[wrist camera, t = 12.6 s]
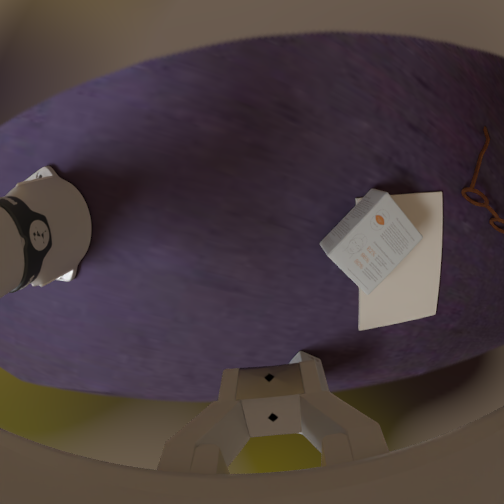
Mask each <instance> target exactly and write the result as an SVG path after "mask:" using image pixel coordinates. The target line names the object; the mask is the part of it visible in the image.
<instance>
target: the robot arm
mask: <svg viewBox="0 0 504 504" xmlns="http://www.w3.org/2000/svg"><path fill="white" fill-rule="evenodd" d="M41 175H42V178H41ZM90 240H91V218H90V213H89V210H88V207H87V204H86V202H85V200H84V198H83V196H82V195H81V193H80V192H79V191H78V190H77V189H76V188H75V187H74V186H73V185H72V184H71V183H69V182H67V181H65V180H63V179H62V178H60V177H59V176H58V175H57V174H56V172H55V171H54V170H53V168H52V167H50V166H45V167H42V168H41V169H40V170H38V171H37V172H35V173H34V174H33V175H31V176H30V177H29V178H27V179H26V180H25V181H24V182H20V183H18V184H16V187H15V188H13V189H12V190H11V191H10V192H9V193H8V194H7V195H6V196H5V197H0V298H1V297H3V296H4V295H6V294H7V293H13V292H16V291H18V290H21V289H23V288H25V287H26V286H28V285H29V284H30V283H31V284H32V286H37V285H39V286H45V285H46V284H48V283H50V282H52V281H54V280H61V281H71V280H73V279H74V278H75V275H76V271H77V266H78V264H79V262H80V261H81V260H82V258H83V257H84V255H85V254H86V252H87V250H88V247H89V244H90ZM301 432H302V434H303V435H304V436H305V437H306V438H307V439H308V440H309V441H310V442H311V443H312V444H313V445H314V446H315V447H316V448H317V449H318V450H319V451H320V452H321V453H322V461H321V462H322V463H321V467H317V468H310V469H302V470H294V471H284V472H272V473H256V474H230V473H229V470H228V468H227V467H228V466H229V465H230V464H231V462H232V461H233V460H234V459H235V457H236V456H237V455H238V453H239V452H240V451H241V450H242V448H243V447H244V446H245V444H246V443H247V441H248V440H249V439H250V437H259V436H269V435H277V434H278V435H279V434H291V433H301ZM0 504H504V406H503V407H501V408H499V409H497V410H495V411H493V412H491V413H490V414H487V415H486V416H483V417H481V418H479V419H477V420H475V421H473V422H471V423H468V424H466V425H464V426H462V427H459V428H457V429H455V430H452V431H450V432H447V433H445V434H442V435H440V436H437V437H434V438H432V439H429V440H426V441H423V442H420V443H418V444H414V445H411V446H408V447H405V448H402V449H398V450H395V451H391V452H389V450H388V447H387V445H386V442H385V439H384V436H383V434H382V431H381V428H380V426H379V424H378V423H377V422H375V421H374V420H372V419H370V418H369V417H367V416H366V415H364V414H362V413H361V412H359V411H358V410H356V409H355V408H353V407H351V406H350V405H348V404H347V403H345V402H344V401H342V400H341V399H339V398H337V397H336V396H335V395H333V394H332V393H330V392H329V391H323V390H322V386H321V382H320V378H319V374H318V370H317V366H316V362H315V360H308V361H302V362H299V363H291V364H283V365H275V366H262V367H248V368H240V369H239V368H234V369H225V370H224V371H223V375H222V380H221V386H220V391H219V397H218V401H214V402H212V403H211V404H210V405H209V406H208V407H207V408H205V409H204V410H203V411H202V412H201V413H200V414H198V415H197V416H196V417H195V418H194V419H193V420H191V422H189V423H188V424H187V425H185V426H184V427H183V428H182V429H181V430H180V431H178V432H177V433H176V434H175V435H173V436H172V437H171V438H170V439H168V440H167V441H166V442H165V445H164V448H163V452H162V455H161V458H160V461H159V464H158V467H157V470H152V469H144V468H138V467H131V466H124V465H120V464H114V463H109V462H104V461H99V460H95V459H91V458H87V457H83V456H79V455H75V454H72V453H68V452H65V451H61V450H58V449H55V448H52V447H48V446H45V445H42V444H39V443H36V442H34V441H31V440H28V439H26V438H23V437H20V436H18V435H15V434H13V433H11V432H8V431H6V430H3V429H1V428H0Z"/></svg>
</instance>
